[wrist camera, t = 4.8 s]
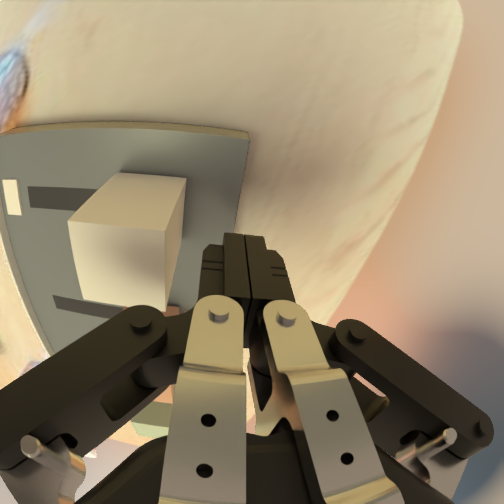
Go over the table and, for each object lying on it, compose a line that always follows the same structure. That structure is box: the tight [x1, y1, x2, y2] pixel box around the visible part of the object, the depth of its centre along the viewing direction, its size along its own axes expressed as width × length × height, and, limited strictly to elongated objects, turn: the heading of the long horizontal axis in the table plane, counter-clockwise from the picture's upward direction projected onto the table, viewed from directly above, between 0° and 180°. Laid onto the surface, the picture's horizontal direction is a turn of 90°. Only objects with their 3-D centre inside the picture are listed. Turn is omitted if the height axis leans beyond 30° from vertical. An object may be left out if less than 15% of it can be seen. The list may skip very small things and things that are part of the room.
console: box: [0, 121, 250, 357], centre depth 18 cm, size 25×16×3 cm, turn 169°
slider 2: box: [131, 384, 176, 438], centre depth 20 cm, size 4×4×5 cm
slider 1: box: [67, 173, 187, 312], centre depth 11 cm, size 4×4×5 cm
